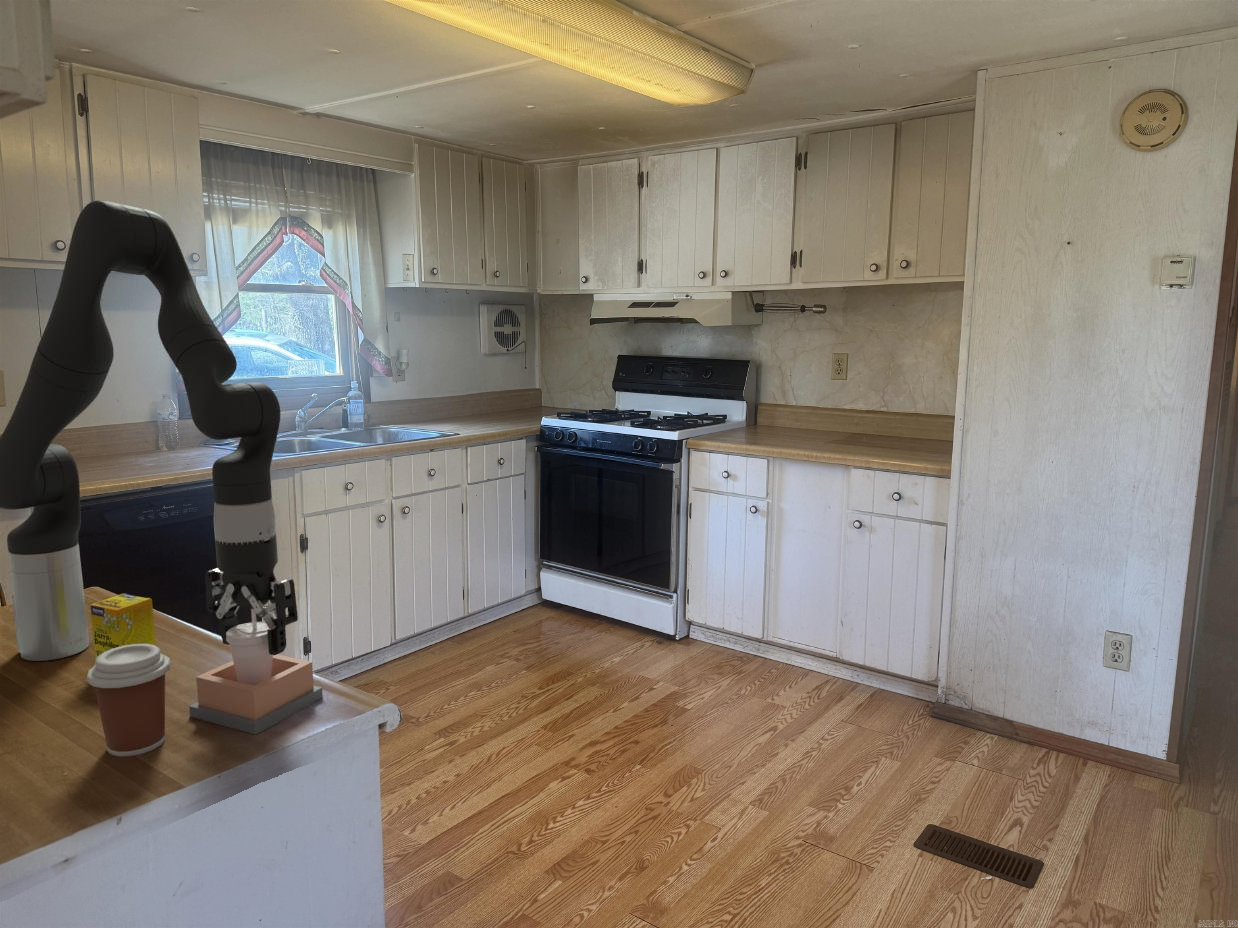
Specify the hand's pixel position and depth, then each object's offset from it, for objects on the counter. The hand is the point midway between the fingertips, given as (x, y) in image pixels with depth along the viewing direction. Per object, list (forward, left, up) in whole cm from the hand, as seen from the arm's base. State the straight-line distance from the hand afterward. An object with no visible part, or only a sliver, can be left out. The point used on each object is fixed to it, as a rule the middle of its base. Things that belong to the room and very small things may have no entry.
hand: (253, 647), depth 116 cm
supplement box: (-28, +1, -9) cm, 29 cm away
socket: (0, 0, -9) cm, 9 cm away
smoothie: (0, 0, -7) cm, 7 cm away
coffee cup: (-6, -14, -9) cm, 17 cm away
